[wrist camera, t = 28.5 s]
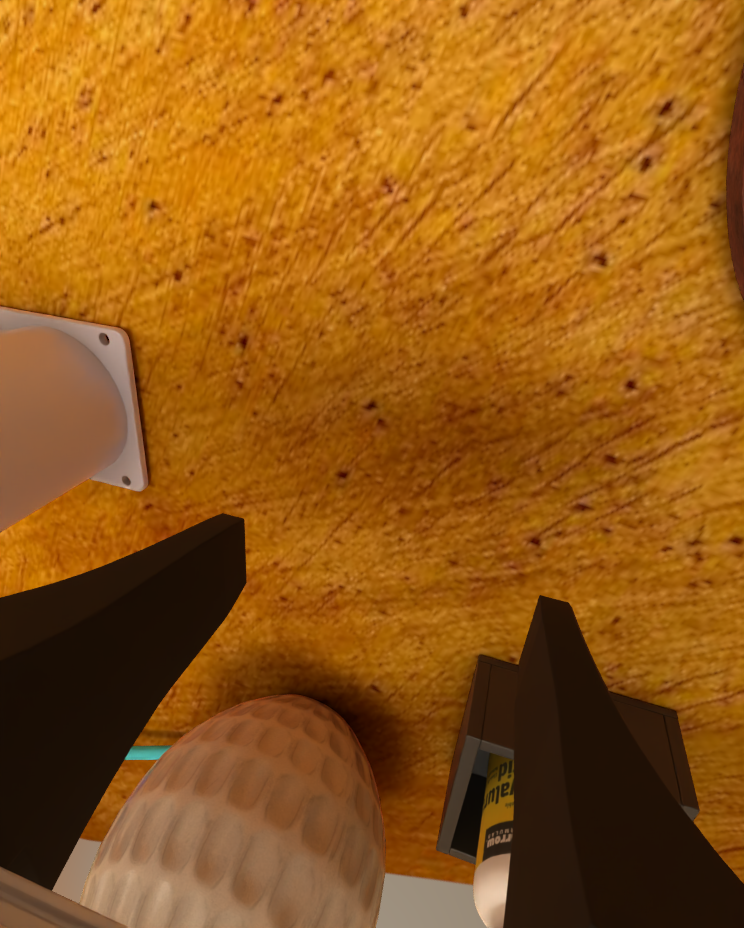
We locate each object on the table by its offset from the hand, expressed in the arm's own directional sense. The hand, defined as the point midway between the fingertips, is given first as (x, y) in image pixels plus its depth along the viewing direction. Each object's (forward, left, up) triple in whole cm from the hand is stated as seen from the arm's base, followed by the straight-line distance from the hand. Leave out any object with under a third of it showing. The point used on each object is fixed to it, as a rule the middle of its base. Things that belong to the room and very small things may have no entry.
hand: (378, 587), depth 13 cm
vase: (-5, -20, -9) cm, 23 cm away
